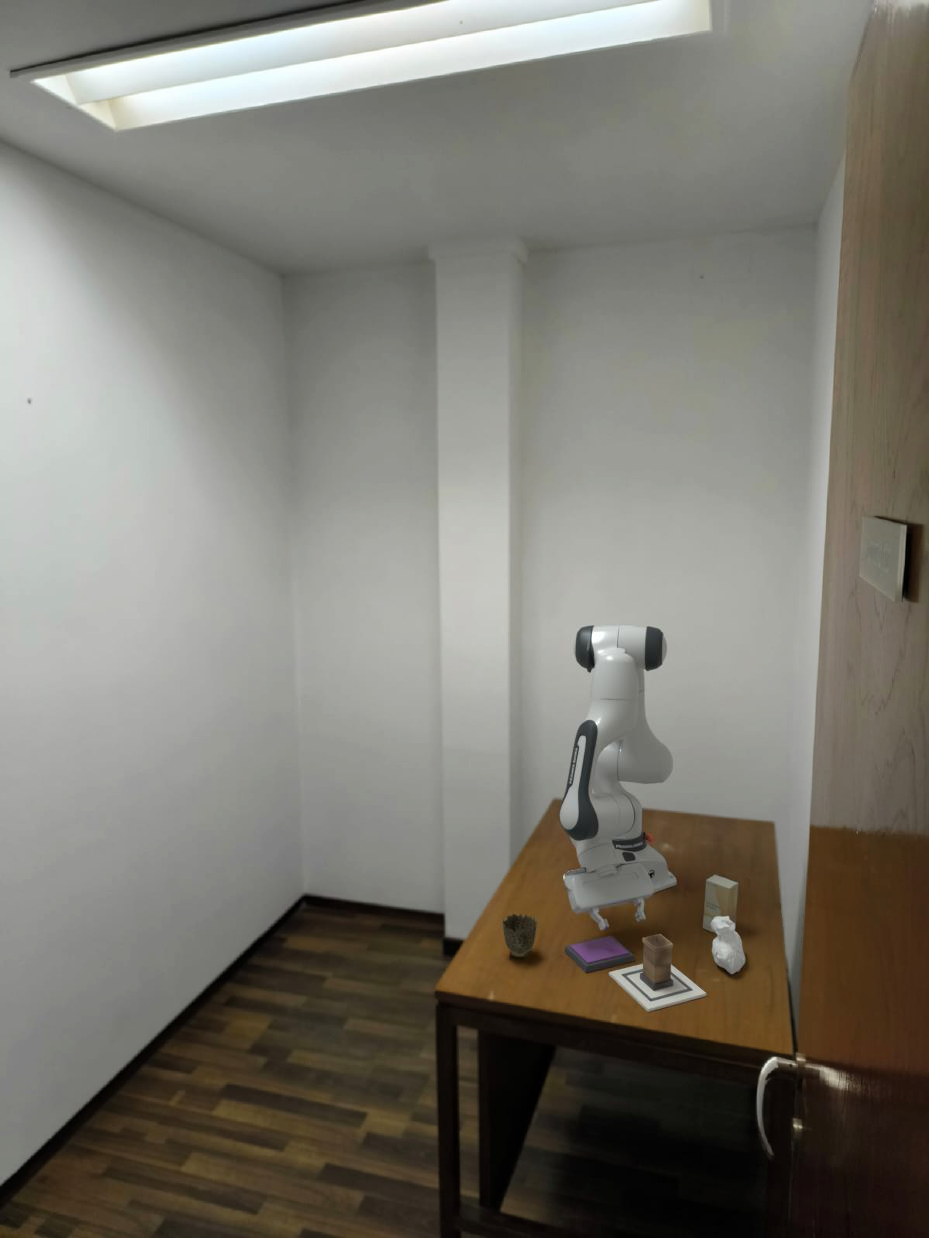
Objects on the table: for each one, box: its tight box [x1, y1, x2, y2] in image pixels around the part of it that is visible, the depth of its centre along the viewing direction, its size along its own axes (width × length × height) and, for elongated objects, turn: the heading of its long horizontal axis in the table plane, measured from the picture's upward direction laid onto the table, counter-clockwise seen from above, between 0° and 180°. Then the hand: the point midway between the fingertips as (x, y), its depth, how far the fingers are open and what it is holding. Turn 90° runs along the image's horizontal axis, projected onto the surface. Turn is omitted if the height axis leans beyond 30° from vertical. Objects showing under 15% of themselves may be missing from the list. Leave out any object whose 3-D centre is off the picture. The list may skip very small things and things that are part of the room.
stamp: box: [640, 933, 674, 991], centre depth 166 cm, size 5×5×9 cm
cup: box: [502, 913, 538, 960], centre depth 178 cm, size 8×7×8 cm
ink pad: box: [564, 935, 635, 974], centre depth 178 cm, size 12×9×2 cm
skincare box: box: [702, 874, 740, 935], centre depth 188 cm, size 6×4×12 cm
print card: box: [608, 963, 707, 1013], centre depth 167 cm, size 14×14×1 cm
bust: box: [711, 916, 746, 975], centre depth 175 cm, size 12×8×11 cm
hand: (623, 924), depth 178 cm, fingers open, 8 cm apart
